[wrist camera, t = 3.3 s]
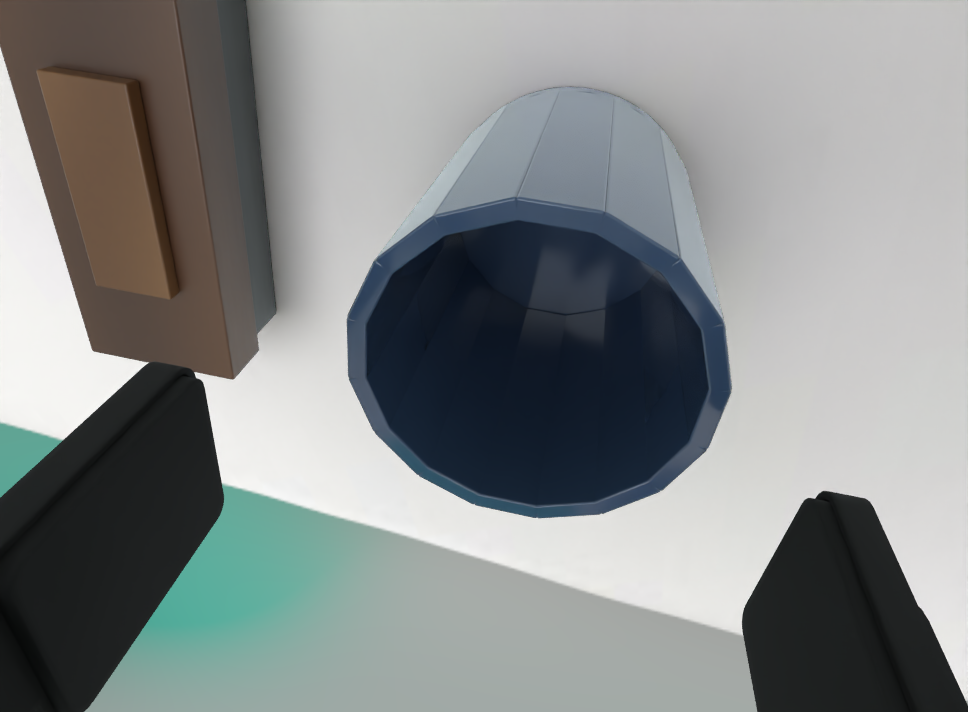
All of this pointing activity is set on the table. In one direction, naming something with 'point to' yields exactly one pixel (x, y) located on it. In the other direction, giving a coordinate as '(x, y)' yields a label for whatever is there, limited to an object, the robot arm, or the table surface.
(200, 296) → the brown box
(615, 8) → the table surface
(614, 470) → the cup
